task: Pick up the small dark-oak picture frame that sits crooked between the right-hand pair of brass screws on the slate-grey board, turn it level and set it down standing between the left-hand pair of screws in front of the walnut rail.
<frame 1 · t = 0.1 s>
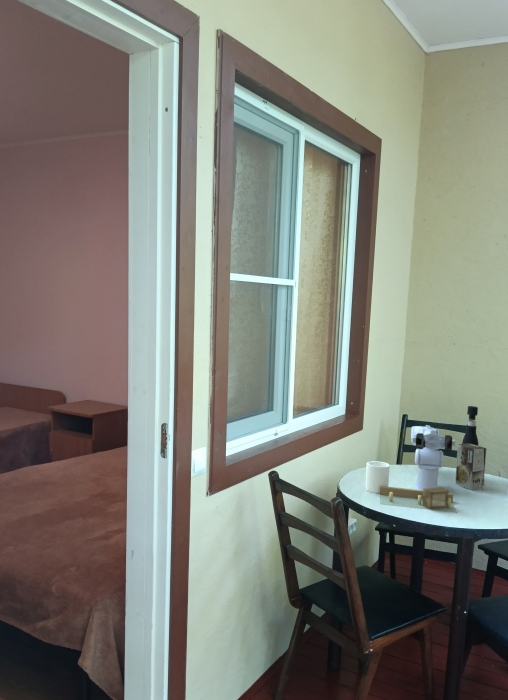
hand: (436, 445, 191), 22 cm above the table, tool horizontal, fingers open, 7 cm apart
frame: (434, 506, 191), point 1 cm above the table, touching board
wine bottle: (467, 479, 229), on the table
mug: (378, 490, 209), on the table
coffee box: (469, 486, 220), on the table
board: (416, 504, 195), on the table
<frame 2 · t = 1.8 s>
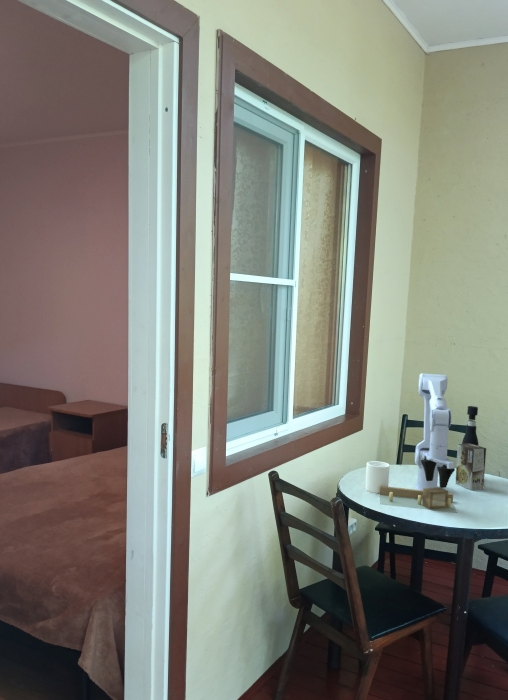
hand: (436, 484, 191), 9 cm above the table, tool pointing down, fingers open, 7 cm apart
nothing on the table moved.
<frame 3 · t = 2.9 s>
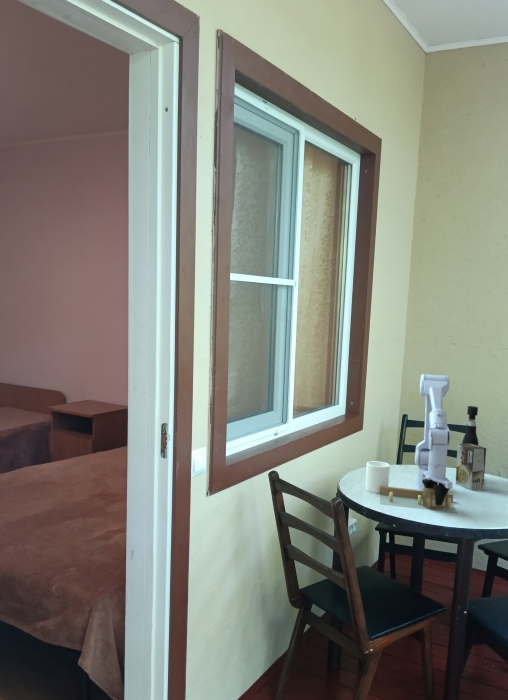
hand: (434, 502, 191), 2 cm above the table, tool pointing down, fingers closed on frame, 4 cm apart
frame: (434, 506, 191), point 1 cm above the table, touching board, gripper
everything else where it was.
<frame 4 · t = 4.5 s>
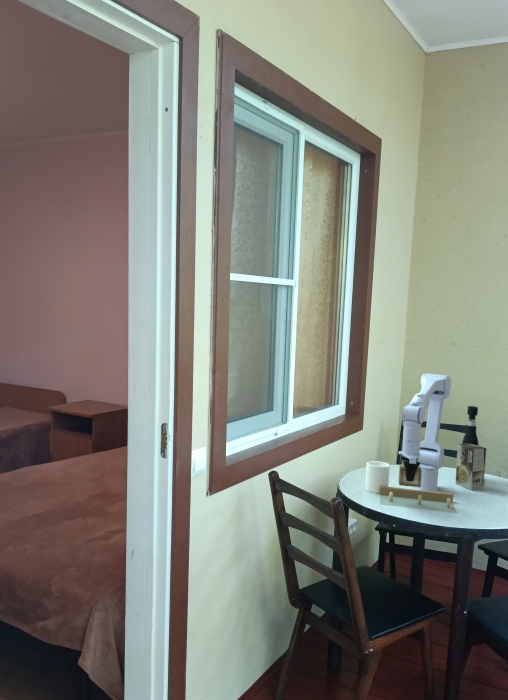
hand: (409, 479, 193), 9 cm above the table, tool pointing down, fingers closed on frame, 4 cm apart
frame: (409, 484, 194), point 7 cm above the table, touching gripper
everything else where it was.
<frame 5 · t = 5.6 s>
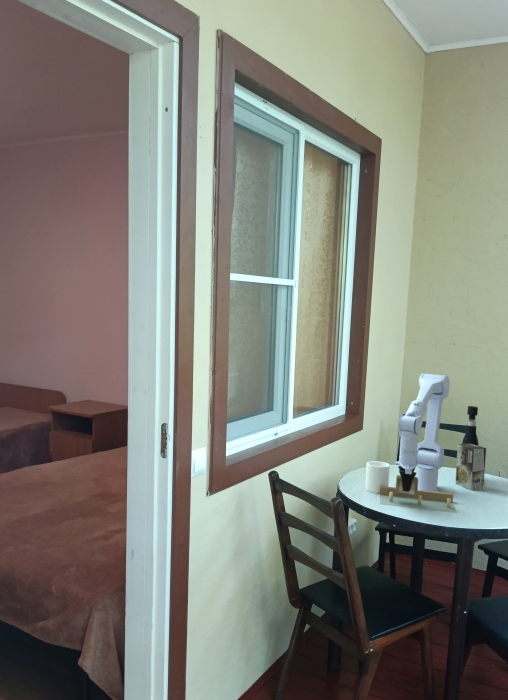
hand: (405, 489, 194), 5 cm above the table, tool pointing down, fingers closed on frame, 4 cm apart
frame: (406, 494, 194), point 3 cm above the table, touching gripper
everything else where it was.
when the fingers open (3 cm above the table, at t = 6.5 s): frame stays where it is, resting on board.
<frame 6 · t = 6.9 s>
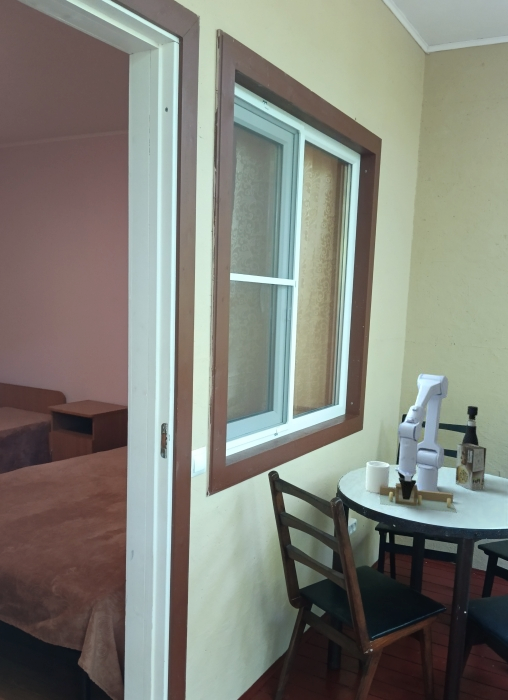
hand: (405, 495, 194), 3 cm above the table, tool pointing down, fingers open, 7 cm apart
frame: (405, 502, 194), point 1 cm above the table, touching board
everything else where it was.
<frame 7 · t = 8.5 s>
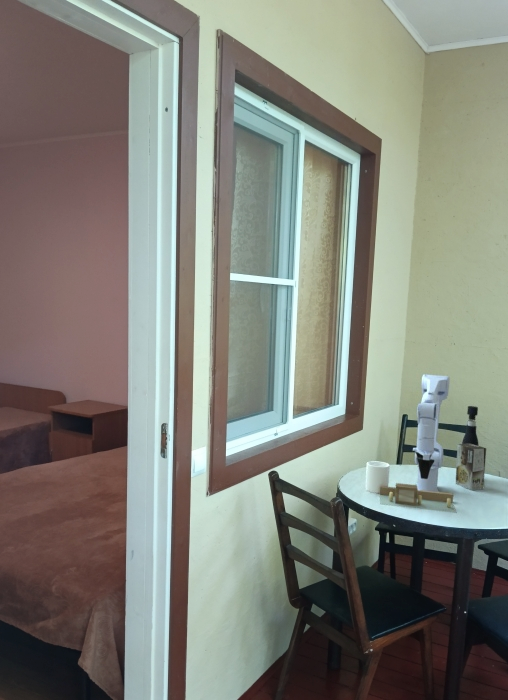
hand: (423, 475, 195), 10 cm above the table, tool pointing down, fingers open, 7 cm apart
nothing on the table moved.
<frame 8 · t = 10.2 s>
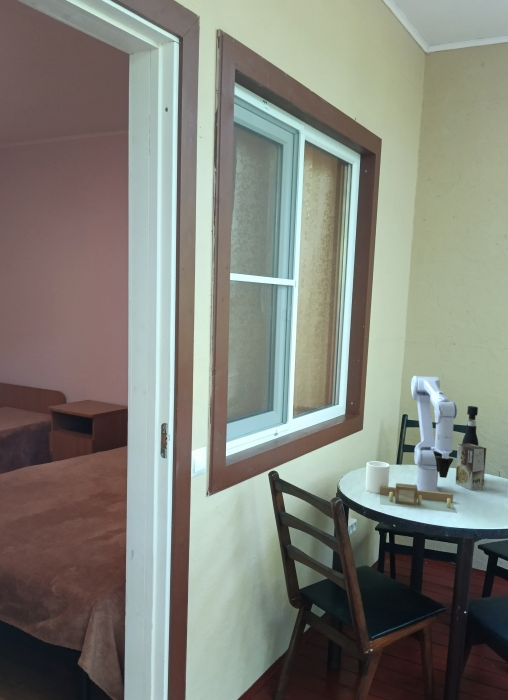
hand: (441, 474, 196), 10 cm above the table, tool pointing down, fingers open, 7 cm apart
nothing on the table moved.
at the end: frame 0.3 cm from the target spot on the board, point 0.6 cm above the board's base; frame tilted 0°; the gripper is holding nothing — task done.
